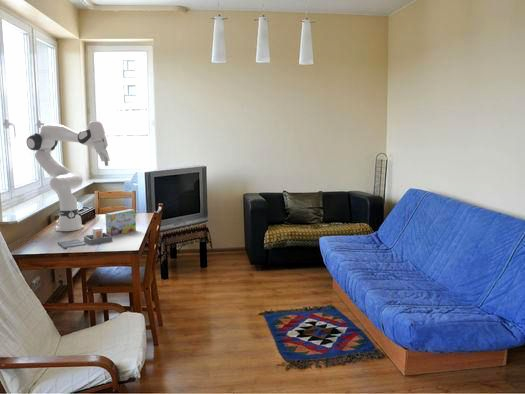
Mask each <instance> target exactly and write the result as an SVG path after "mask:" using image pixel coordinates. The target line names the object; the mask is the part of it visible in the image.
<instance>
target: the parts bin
mask: <svg viewBox="0 0 525 394" xmlns="http://www.w3.org/2000/svg"><path fill="white" fill-rule="evenodd" d="M102 234H103V238H97V239H93V234H87V235H83V241H84V243H87V244H89V245H90V246H92V245H97V244H105V243H110V242H113V236H110V235H108V234H107V233H106V232H102Z"/></svg>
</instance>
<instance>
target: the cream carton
mask: <svg viewBox="0 0 525 394" xmlns="http://www.w3.org/2000/svg"><path fill="white" fill-rule="evenodd" d="M102 233H103V228H102V227H93V228H92V235H93V239H97V238H103V234H102Z"/></svg>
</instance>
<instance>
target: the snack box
mask: <svg viewBox="0 0 525 394" xmlns="http://www.w3.org/2000/svg"><path fill="white" fill-rule="evenodd" d="M136 220H137V218H136V209H133V208H128V209H123V210H117V211H114V212H108V213H105V230H106V231H105V233H107V234H108V235H110V236H112V237H113V236H116V235H120V234H128V233H131V232H135V231H137V223H136V222H137V221H136Z"/></svg>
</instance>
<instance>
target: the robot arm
mask: <svg viewBox="0 0 525 394" xmlns="http://www.w3.org/2000/svg"><path fill="white" fill-rule="evenodd" d="M105 134H106V133H105V129H104V126H103V124H102V122H101V121H98V120H91V121H89V123H88V125H87V126H86V127H85V128H84V129H83V130H80V131H79V132H77V131H75V130H73V129H70V128H69V127H67V126H65V125H63V124H58V123H45V124H43V125H42V126H41V127H40V132H39V133H37V132H35V133H34V134H31V135H29V136H28V137H27V138H26V146H27V147H28V149H30V150H31V151H36V152H35V154H34V158H35V159H36V161H37V163H38V164H39V165H40V167H41V168H42V169H43V170H44V171H45V172H46V173H47V175H49V176H50V177H52V178H51V179H50V180H49V186H50V188H51V189H52V191H54V192H55V194H56V195H57V197H58V201H59V218H58V219H57V220H56V221H55V223H56V226H55V232H71V231H78V230H82V229H84V228H85V225H83V224H82V223H83V222H82V217H81V215H79V209H78V202H77V201H78V200H77V197H76V196H74V195H73V192H72V190H75V189H77V188H79V187H81V186H82V184H83V178H82V176H81V175H80V174H79V173H76V172H74V171H72V170H70V169H69V168H67V166H65V165H63V164H62V163H61V162H60V161H59V159H57V157H56V156H55V155H54V154H53V153H52V151H54V150H55V148H56V147H57V146H58V143H59V142H69V143H70V142H71V143H79V144H82V145H83V146H87V147H89V148H93V149H94V150H95V152H96V154H98V156H99V159H100V161H101V162H104V165H105V167H108V166H109V161H110V156H109V153H108V151H107V147H108V146H109V144H108V140H107V137H106V135H105Z"/></svg>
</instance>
